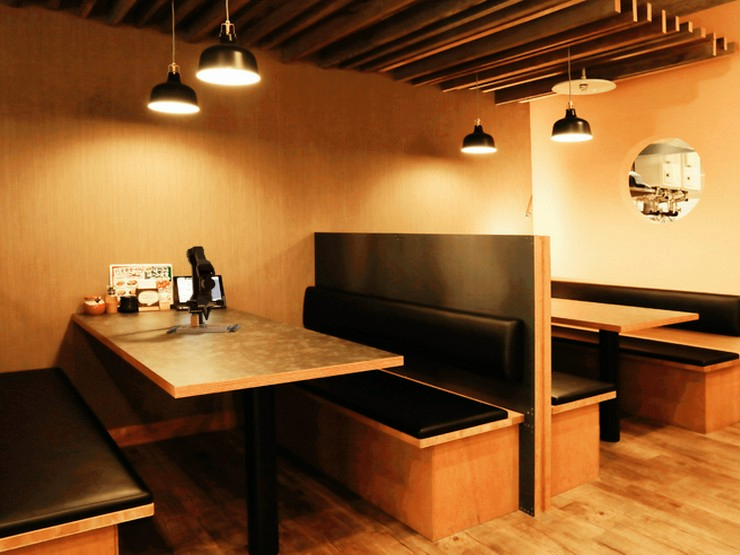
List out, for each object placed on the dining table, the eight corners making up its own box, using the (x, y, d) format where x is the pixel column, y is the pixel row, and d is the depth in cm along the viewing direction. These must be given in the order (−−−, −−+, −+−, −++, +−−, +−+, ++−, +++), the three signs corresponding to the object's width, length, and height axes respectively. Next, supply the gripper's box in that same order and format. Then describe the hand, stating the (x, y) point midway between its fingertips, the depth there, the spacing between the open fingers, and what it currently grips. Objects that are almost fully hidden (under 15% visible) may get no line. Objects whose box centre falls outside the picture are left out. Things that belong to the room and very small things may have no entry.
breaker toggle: (192, 325, 310) (192, 314, 309) (198, 325, 310) (198, 313, 310) (190, 326, 306) (190, 315, 305) (197, 326, 306) (196, 314, 306)
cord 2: (235, 326, 318) (235, 323, 317) (241, 326, 318) (241, 323, 318) (229, 332, 300) (228, 328, 300) (235, 332, 300) (235, 328, 300)
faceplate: (184, 328, 315) (184, 324, 315) (232, 327, 316) (232, 322, 316) (176, 333, 300) (176, 328, 300) (227, 331, 301) (226, 327, 301)
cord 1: (175, 328, 316) (175, 325, 316) (181, 328, 316) (181, 325, 316) (165, 333, 299) (165, 330, 299) (172, 333, 299) (172, 330, 299)
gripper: (182, 290, 298) (183, 323, 299) (221, 289, 299) (222, 322, 300) (187, 288, 309) (189, 319, 311) (225, 287, 310) (227, 318, 311)
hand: (206, 320), depth 308 cm, fingers closed
